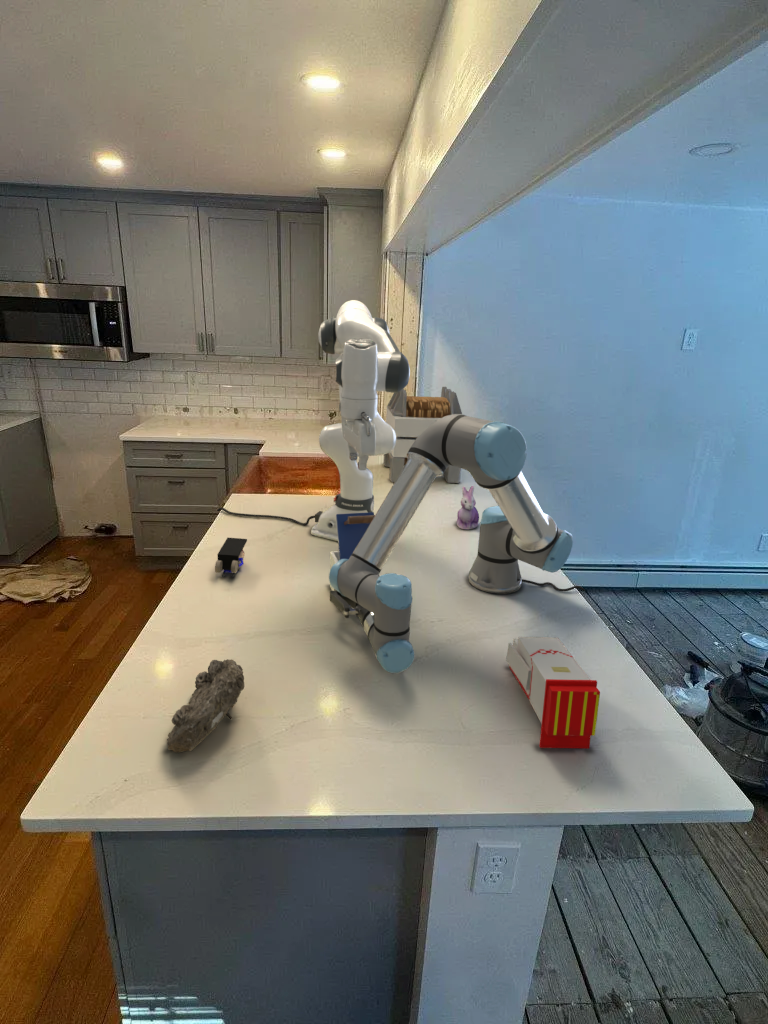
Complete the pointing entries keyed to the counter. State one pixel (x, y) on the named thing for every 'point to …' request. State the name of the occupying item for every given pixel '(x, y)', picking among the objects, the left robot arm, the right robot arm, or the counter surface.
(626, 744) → the counter surface
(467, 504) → the figurine
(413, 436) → the transformer
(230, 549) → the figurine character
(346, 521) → the lid
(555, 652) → the toy
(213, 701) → the fossil
